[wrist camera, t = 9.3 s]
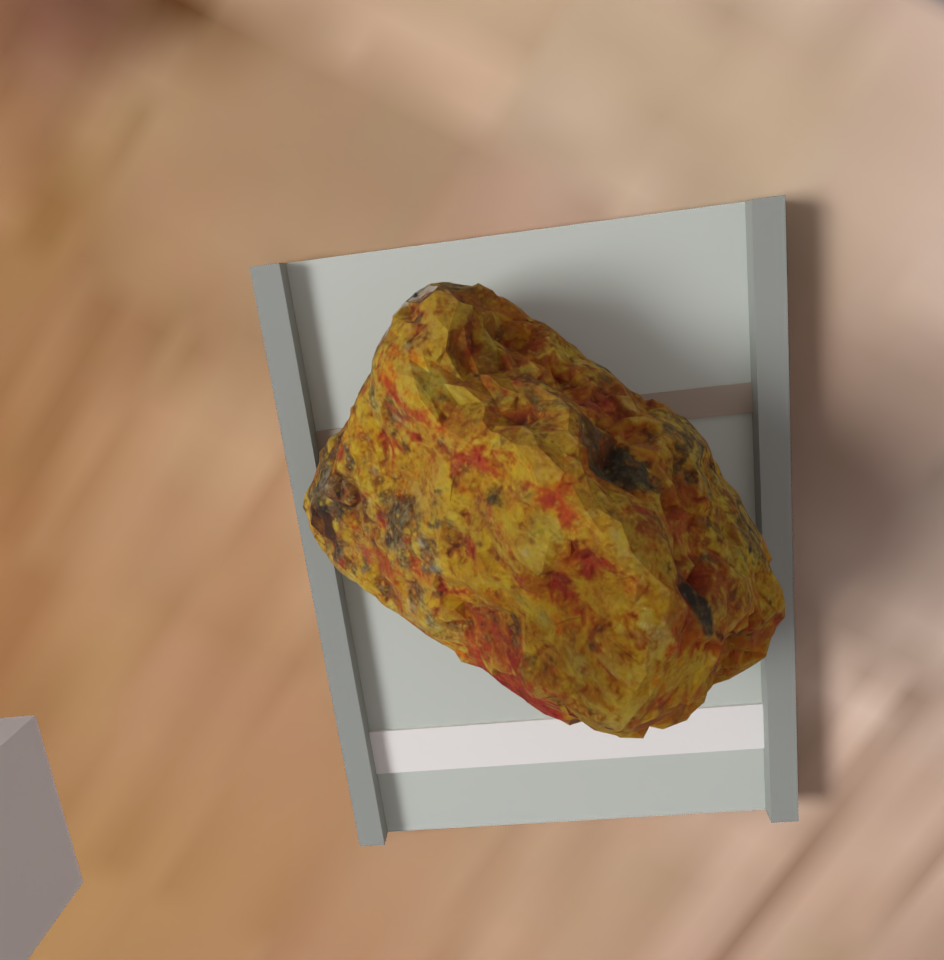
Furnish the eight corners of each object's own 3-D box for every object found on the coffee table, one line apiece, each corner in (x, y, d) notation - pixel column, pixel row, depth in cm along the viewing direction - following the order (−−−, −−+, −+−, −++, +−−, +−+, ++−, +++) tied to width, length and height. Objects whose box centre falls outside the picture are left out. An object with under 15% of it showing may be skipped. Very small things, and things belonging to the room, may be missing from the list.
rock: (460, 571, 27) (207, 532, 19) (563, 352, 26) (338, 220, 18) (744, 776, 20) (515, 839, 12) (901, 483, 19) (759, 356, 11)
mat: (367, 820, 26) (360, 846, 25) (264, 267, 21) (249, 266, 20) (785, 795, 25) (798, 821, 23) (770, 199, 20) (785, 194, 19)
